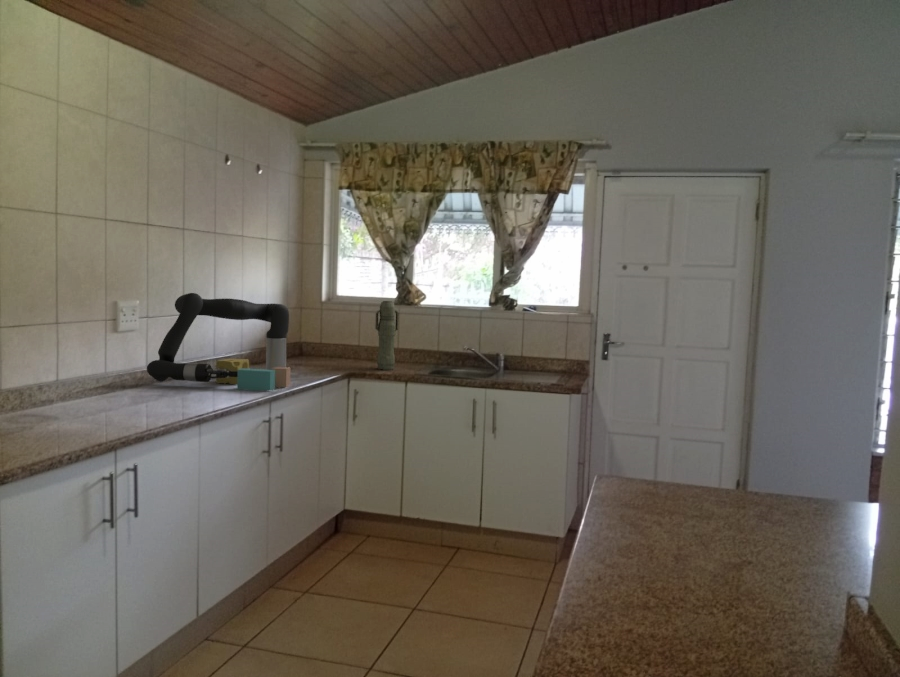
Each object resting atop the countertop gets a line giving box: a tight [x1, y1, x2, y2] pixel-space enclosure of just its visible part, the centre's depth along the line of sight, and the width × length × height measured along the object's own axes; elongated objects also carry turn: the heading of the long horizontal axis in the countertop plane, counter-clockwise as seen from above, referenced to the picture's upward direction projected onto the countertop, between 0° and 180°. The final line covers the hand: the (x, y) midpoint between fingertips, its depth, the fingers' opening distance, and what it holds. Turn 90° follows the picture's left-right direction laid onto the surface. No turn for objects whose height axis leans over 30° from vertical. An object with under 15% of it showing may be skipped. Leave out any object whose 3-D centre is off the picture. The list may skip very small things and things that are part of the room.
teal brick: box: [236, 368, 276, 391], centre depth 292 cm, size 5×14×8 cm, turn 82°
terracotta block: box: [272, 366, 291, 388], centre depth 301 cm, size 6×6×8 cm
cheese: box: [215, 358, 250, 385], centre depth 307 cm, size 10×11×10 cm
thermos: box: [374, 300, 399, 371], centre depth 368 cm, size 9×12×35 cm
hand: (238, 374), depth 292 cm, fingers closed
